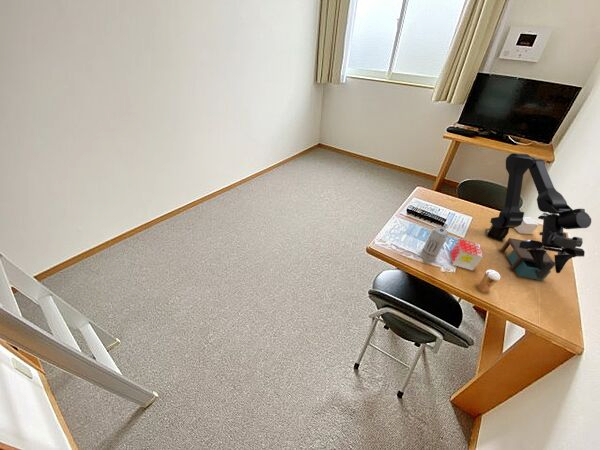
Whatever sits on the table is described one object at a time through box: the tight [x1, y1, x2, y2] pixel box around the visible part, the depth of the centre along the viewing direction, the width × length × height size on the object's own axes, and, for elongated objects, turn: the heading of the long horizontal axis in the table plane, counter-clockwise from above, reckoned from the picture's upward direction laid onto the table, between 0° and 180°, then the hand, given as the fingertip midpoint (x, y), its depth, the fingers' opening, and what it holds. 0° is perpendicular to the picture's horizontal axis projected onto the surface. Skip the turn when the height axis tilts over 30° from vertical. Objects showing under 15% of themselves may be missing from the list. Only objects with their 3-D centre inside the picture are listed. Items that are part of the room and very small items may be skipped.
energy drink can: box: [419, 226, 449, 263], centre depth 109 cm, size 6×6×15 cm
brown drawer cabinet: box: [499, 237, 554, 271], centre depth 114 cm, size 12×12×8 cm
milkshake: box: [477, 269, 501, 293], centre depth 99 cm, size 4×5×10 cm
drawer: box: [507, 249, 556, 281], centre depth 108 cm, size 14×9×12 cm, turn 169°
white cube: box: [514, 216, 540, 235], centre depth 133 cm, size 6×6×6 cm
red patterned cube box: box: [450, 238, 484, 271], centre depth 111 cm, size 8×8×8 cm
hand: (548, 271), depth 101 cm, fingers open, 6 cm apart
